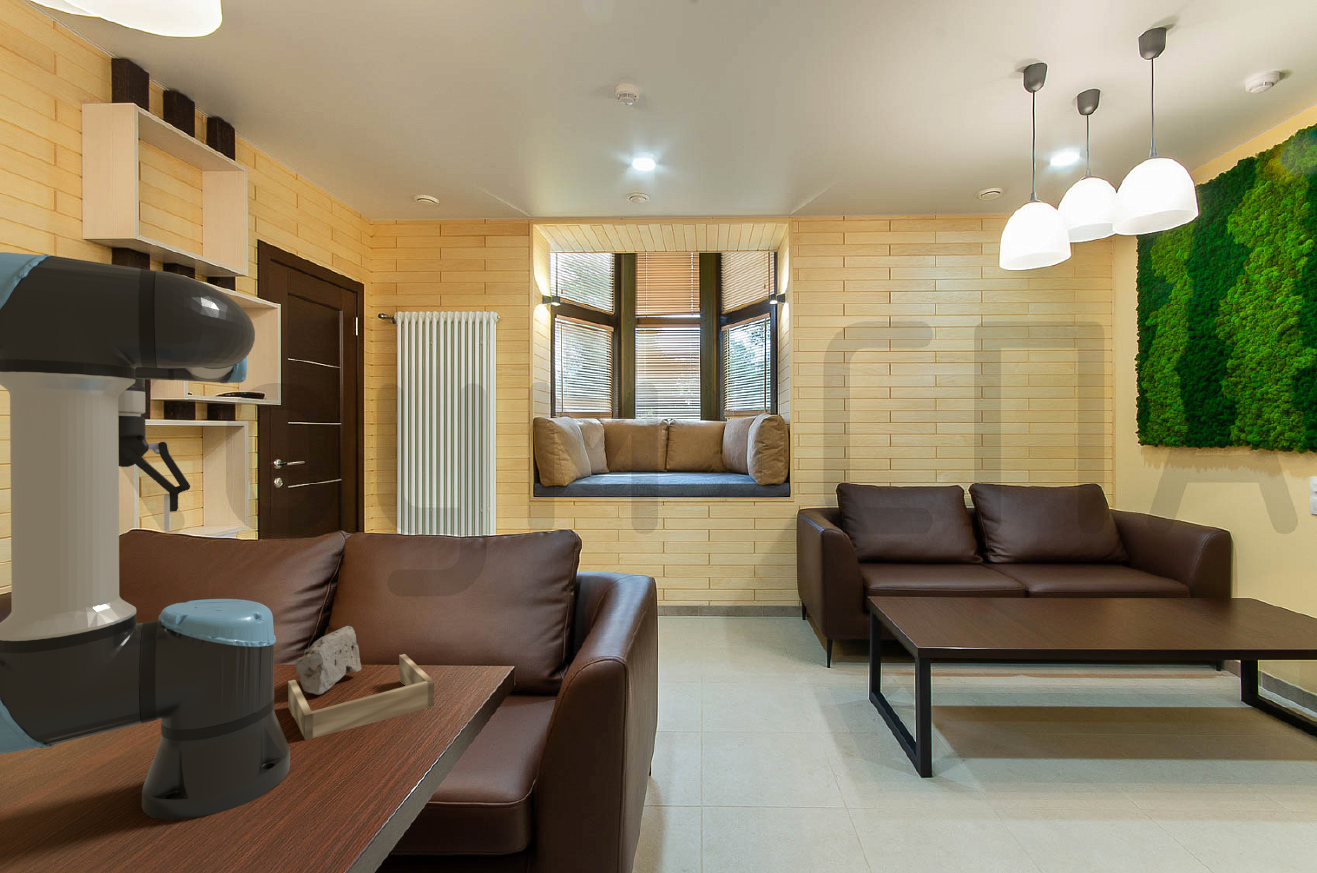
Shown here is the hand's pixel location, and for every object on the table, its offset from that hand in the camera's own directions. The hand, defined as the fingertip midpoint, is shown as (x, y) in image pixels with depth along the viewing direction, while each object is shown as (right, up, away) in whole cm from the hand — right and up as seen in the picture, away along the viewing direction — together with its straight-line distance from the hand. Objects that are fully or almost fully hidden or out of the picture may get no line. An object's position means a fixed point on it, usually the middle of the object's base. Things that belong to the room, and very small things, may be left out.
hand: (117, 533), depth 104 cm
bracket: (+46, -29, -5) cm, 55 cm away
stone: (+37, -29, +6) cm, 48 cm away
